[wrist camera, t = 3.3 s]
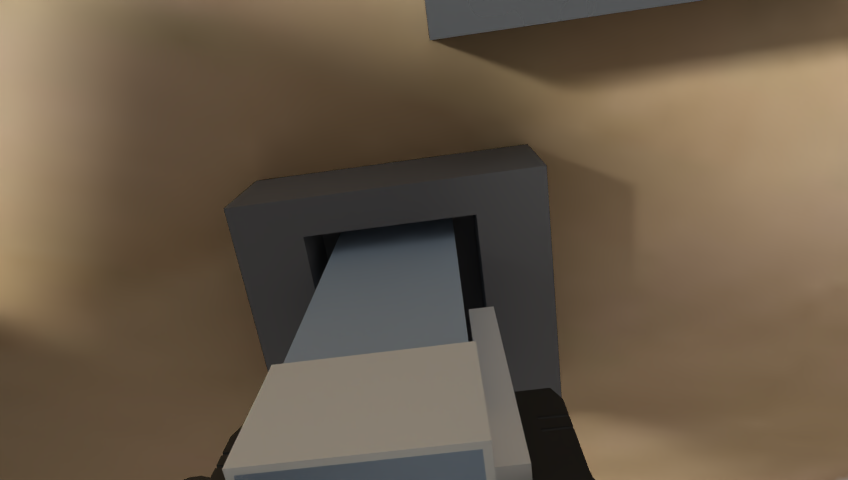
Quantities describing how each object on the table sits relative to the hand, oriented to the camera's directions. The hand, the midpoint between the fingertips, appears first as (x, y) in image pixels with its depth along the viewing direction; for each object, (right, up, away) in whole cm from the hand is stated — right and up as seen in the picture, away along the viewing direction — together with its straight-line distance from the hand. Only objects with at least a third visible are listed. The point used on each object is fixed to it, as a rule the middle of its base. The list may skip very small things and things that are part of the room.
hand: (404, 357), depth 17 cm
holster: (0, +2, +5) cm, 5 cm away
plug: (0, +1, +4) cm, 4 cm away
